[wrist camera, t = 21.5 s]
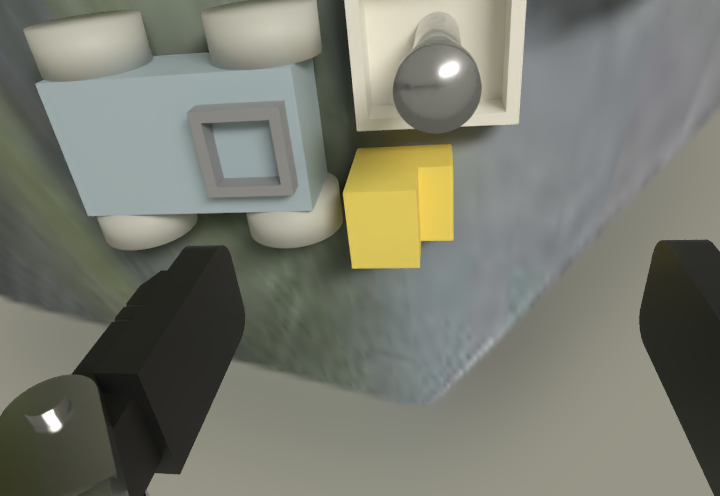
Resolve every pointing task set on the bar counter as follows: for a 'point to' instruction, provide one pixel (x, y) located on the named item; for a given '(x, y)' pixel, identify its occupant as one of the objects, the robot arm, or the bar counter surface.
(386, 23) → the tray
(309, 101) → the trolley
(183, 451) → the robot arm
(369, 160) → the block
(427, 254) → the bar counter surface
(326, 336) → the bar counter surface
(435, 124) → the pin
